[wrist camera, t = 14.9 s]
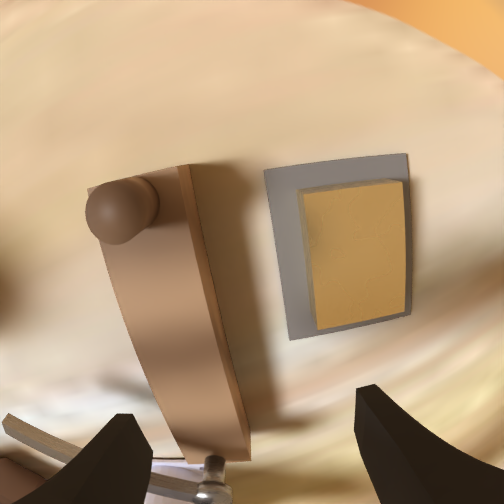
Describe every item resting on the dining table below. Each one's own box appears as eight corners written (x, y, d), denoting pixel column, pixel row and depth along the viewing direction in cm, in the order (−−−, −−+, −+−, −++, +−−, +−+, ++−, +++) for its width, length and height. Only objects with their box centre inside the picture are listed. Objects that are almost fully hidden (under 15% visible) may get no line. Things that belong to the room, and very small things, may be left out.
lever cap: (389, 295, 18) (404, 311, 16) (310, 311, 18) (317, 330, 16) (384, 178, 16) (402, 182, 14) (295, 189, 16) (303, 194, 14)
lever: (237, 454, 18) (236, 497, 15) (228, 472, 19) (227, 512, 15) (23, 385, 16) (-1, 416, 13) (28, 407, 17) (7, 438, 14)
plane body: (250, 430, 22) (251, 489, 16) (192, 435, 22) (184, 492, 16) (188, 164, 16) (161, 168, 11) (111, 182, 16) (58, 196, 11)
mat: (408, 312, 19) (410, 314, 19) (289, 338, 19) (289, 340, 19) (403, 153, 16) (405, 153, 16) (263, 170, 16) (263, 170, 16)
